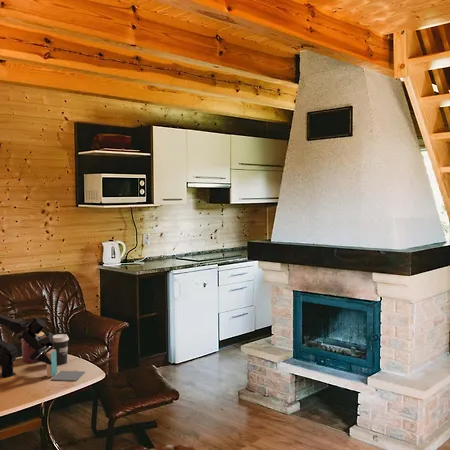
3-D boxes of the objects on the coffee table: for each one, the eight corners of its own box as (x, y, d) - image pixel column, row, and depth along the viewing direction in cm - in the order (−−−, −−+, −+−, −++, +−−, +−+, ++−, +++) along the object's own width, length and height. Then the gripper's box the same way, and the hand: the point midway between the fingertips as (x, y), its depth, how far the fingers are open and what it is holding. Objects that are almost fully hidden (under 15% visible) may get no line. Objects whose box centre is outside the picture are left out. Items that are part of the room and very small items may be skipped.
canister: (50, 359, 300) (49, 328, 298) (27, 365, 291) (26, 333, 289) (40, 354, 309) (39, 323, 308) (18, 359, 301) (17, 328, 299)
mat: (51, 380, 268) (51, 379, 268) (60, 371, 280) (60, 370, 279) (76, 381, 266) (76, 380, 266) (85, 372, 278) (84, 371, 278)
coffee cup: (56, 367, 287) (54, 339, 286) (48, 362, 294) (47, 336, 293) (72, 363, 293) (71, 336, 292) (65, 358, 300) (64, 332, 299)
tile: (46, 376, 271) (46, 353, 270) (52, 372, 277) (51, 349, 276) (51, 376, 270) (50, 353, 269) (56, 372, 277) (56, 349, 276)
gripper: (34, 334, 263) (57, 357, 263) (50, 324, 281) (71, 345, 281) (19, 349, 264) (42, 372, 264) (37, 338, 283) (57, 359, 283)
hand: (54, 361), depth 273 cm, fingers closed on tile, 6 cm apart
